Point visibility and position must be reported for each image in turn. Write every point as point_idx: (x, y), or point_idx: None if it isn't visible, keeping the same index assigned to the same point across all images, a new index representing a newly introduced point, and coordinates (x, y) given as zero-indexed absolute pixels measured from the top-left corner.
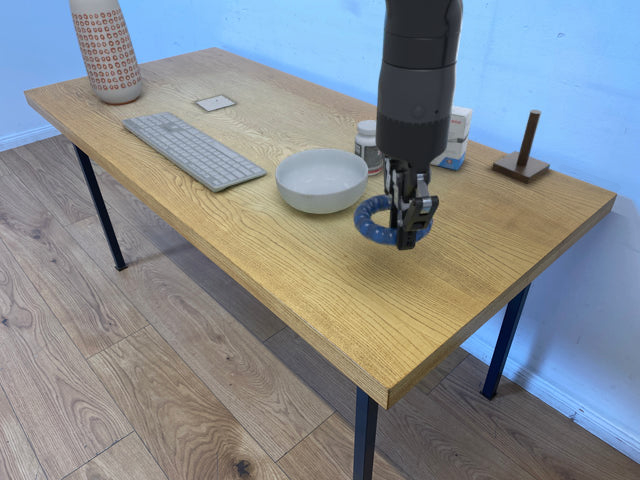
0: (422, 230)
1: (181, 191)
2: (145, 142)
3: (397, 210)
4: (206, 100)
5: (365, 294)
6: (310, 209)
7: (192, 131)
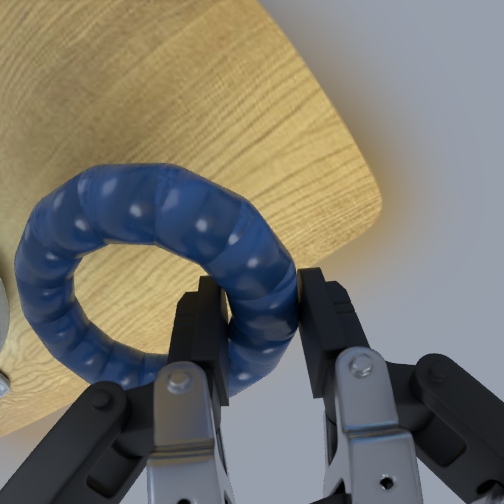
0: (270, 250)
1: (21, 401)
2: None
3: (225, 393)
4: None
5: None
6: (7, 309)
7: None
